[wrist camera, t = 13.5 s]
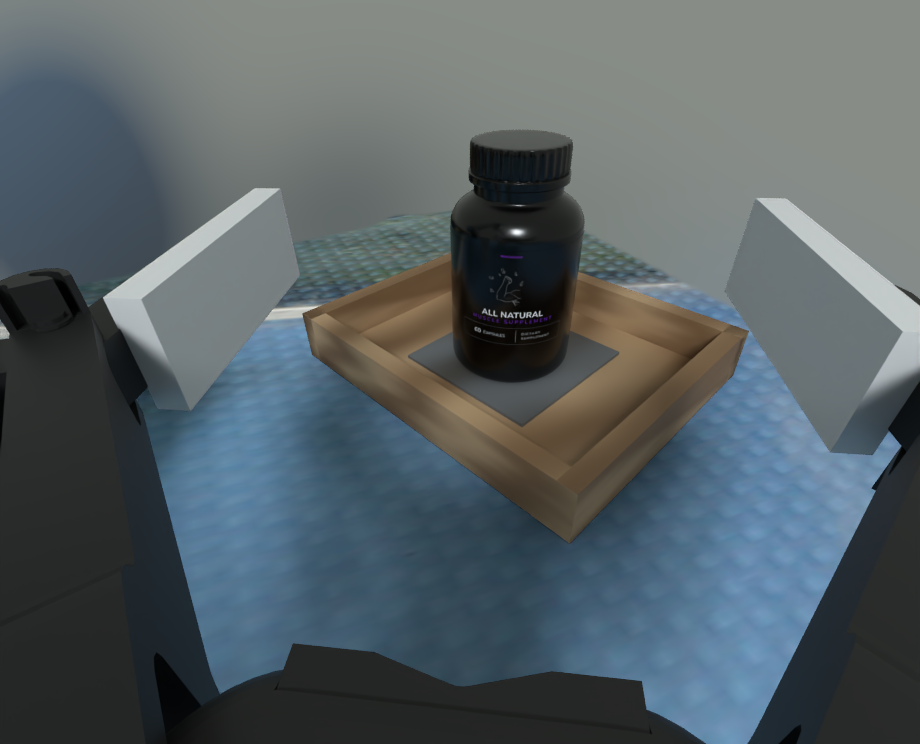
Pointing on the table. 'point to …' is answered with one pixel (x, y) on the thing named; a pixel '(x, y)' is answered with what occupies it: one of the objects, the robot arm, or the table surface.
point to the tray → (533, 386)
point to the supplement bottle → (515, 256)
